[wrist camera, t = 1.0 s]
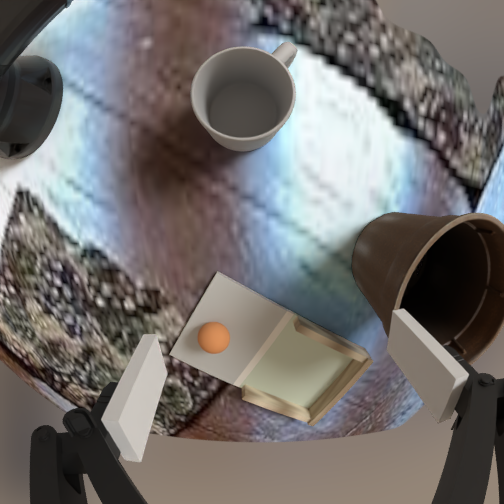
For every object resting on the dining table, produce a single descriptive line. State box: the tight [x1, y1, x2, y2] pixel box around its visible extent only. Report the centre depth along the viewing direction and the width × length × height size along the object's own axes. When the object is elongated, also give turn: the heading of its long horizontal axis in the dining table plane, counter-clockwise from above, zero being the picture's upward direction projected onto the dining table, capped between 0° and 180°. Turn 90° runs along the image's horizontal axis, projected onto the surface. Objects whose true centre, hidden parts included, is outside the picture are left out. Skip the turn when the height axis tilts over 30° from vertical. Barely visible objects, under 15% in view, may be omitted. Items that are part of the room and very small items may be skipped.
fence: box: [242, 316, 373, 426], centre depth 39 cm, size 12×14×4 cm
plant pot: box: [352, 212, 504, 365], centre depth 29 cm, size 16×16×16 cm
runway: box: [169, 271, 353, 408], centre depth 39 cm, size 24×14×1 cm, turn 59°
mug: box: [190, 42, 297, 151], centre depth 26 cm, size 12×8×11 cm
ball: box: [198, 322, 230, 354], centre depth 36 cm, size 4×4×4 cm
